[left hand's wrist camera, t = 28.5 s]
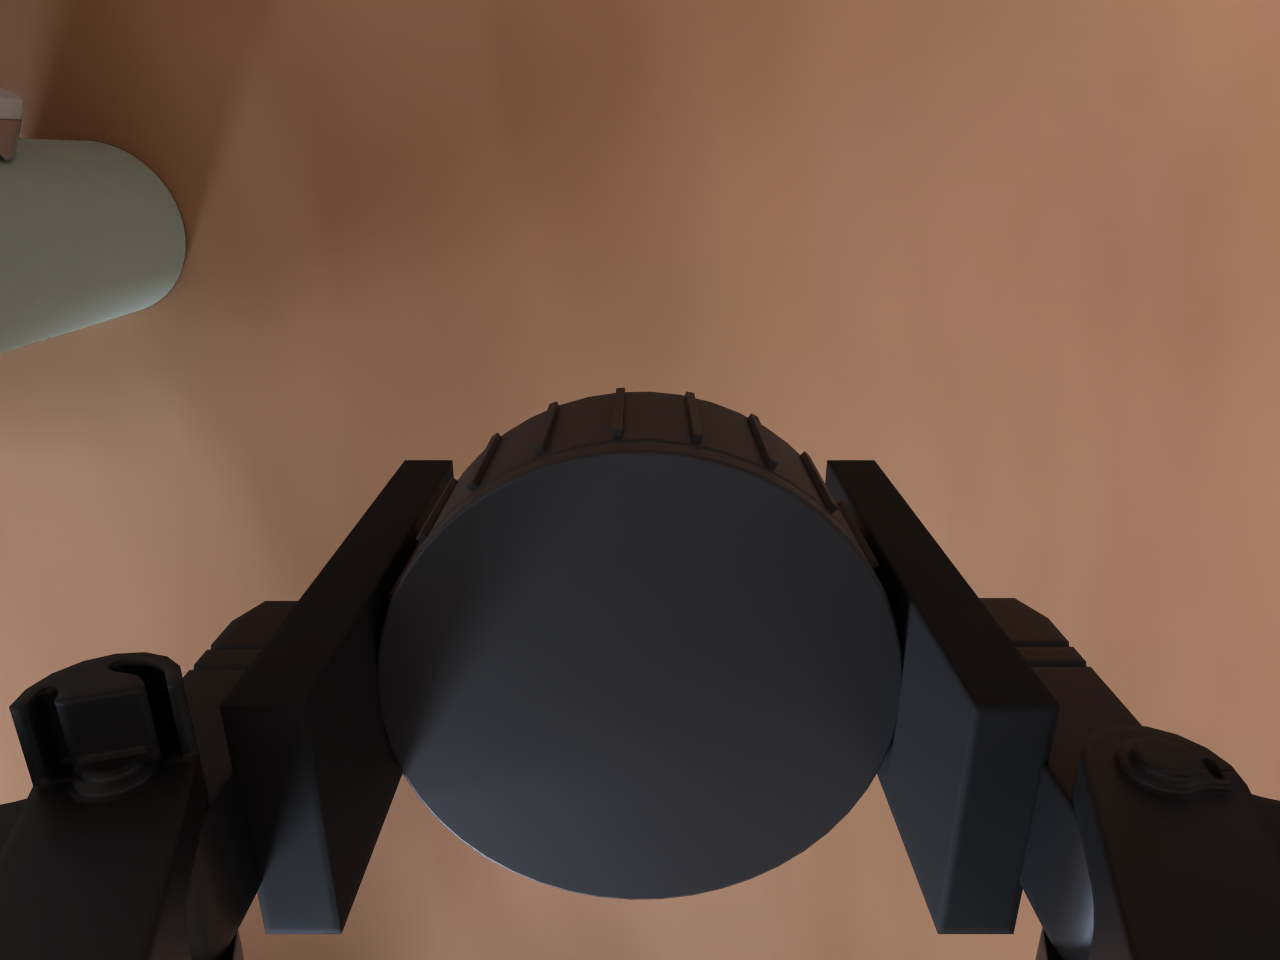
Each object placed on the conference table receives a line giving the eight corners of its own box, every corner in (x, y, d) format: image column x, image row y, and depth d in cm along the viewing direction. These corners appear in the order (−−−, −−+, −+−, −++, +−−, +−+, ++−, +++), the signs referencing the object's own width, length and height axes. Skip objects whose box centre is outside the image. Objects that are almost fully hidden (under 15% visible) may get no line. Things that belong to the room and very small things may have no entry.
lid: (358, 441, 11) (288, 514, 9) (826, 338, 11) (875, 387, 9) (489, 807, 13) (458, 939, 11) (886, 735, 13) (937, 858, 11)
